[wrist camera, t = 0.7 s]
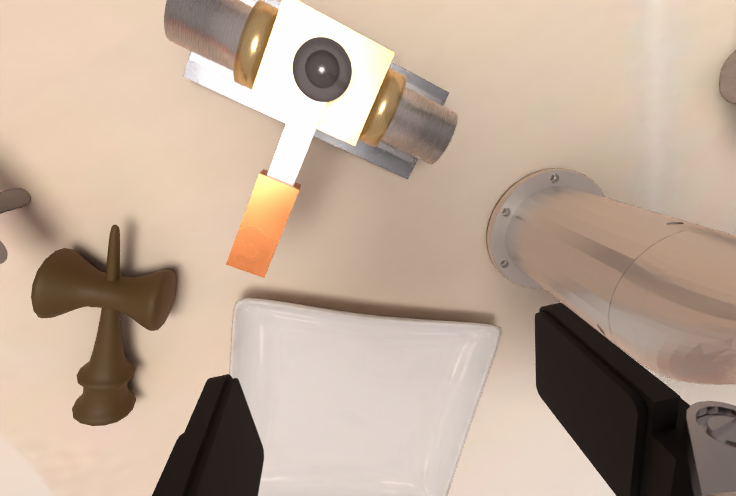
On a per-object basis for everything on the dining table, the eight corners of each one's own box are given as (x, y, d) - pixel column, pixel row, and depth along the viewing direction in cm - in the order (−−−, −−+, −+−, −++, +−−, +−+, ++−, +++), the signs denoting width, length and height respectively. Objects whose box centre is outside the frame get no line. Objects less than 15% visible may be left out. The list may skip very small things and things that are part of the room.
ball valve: (443, 93, 34) (499, 84, 23) (404, 176, 36) (439, 202, 25) (219, -25, 29) (161, -105, 18) (189, 78, 31) (121, 60, 20)
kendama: (68, 383, 39) (71, 202, 33) (167, 394, 42) (187, 226, 35) (28, 429, 34) (22, 223, 28) (144, 439, 36) (164, 249, 30)
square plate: (433, 489, 51) (442, 518, 47) (222, 482, 46) (213, 514, 42) (492, 312, 42) (508, 330, 39) (241, 281, 38) (232, 299, 34)
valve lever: (306, 31, 21) (305, 22, 19) (358, 58, 22) (362, 52, 20) (226, 251, 25) (218, 263, 23) (273, 268, 25) (269, 281, 23)
